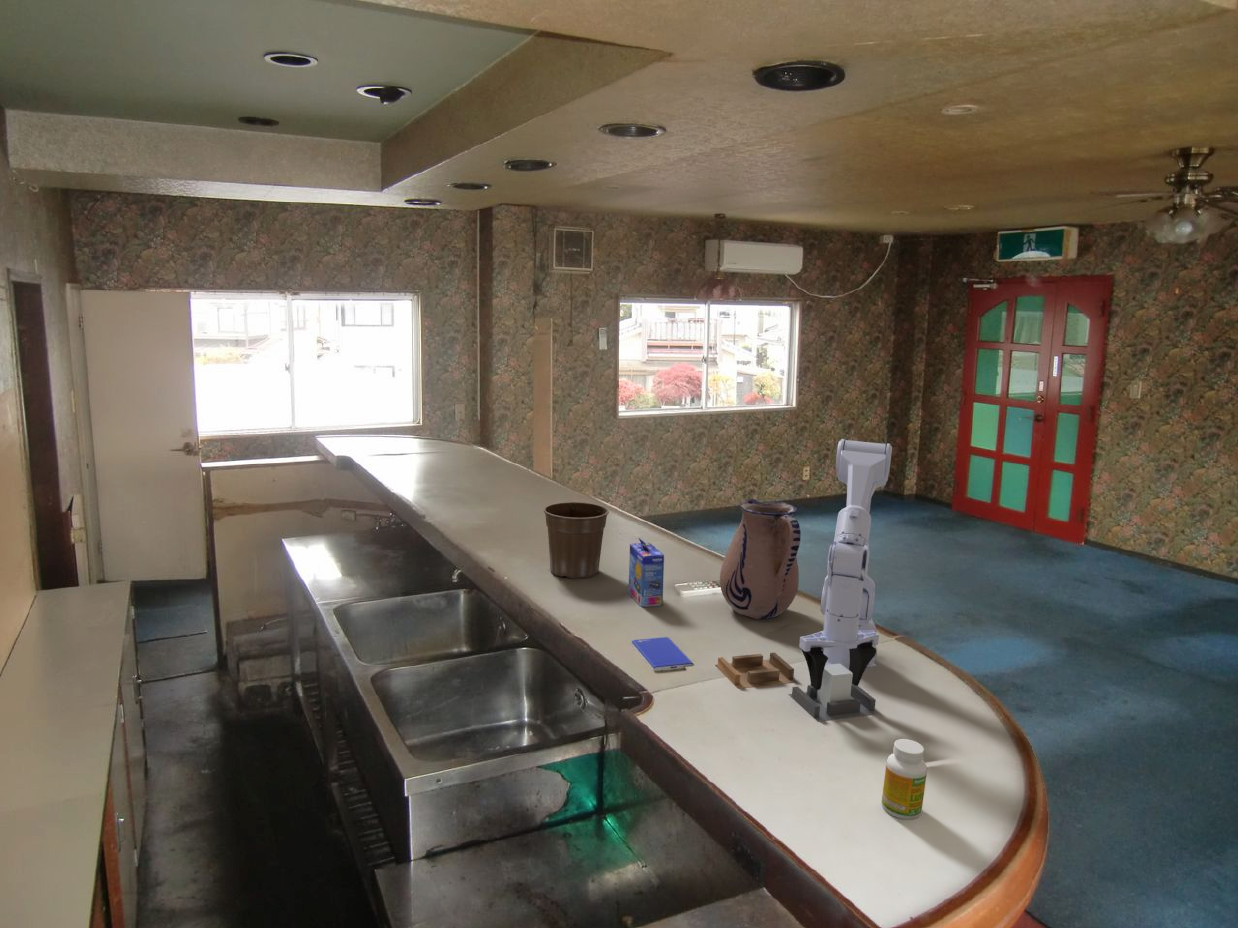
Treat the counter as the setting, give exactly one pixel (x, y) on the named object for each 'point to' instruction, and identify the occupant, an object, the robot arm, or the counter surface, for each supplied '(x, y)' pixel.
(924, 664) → the counter surface
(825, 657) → the robot arm
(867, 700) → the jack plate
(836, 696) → the plug block
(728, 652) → the counter surface
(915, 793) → the supplement bottle
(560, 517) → the plant pot
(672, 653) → the hard drive
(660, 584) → the ink cartridge box
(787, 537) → the ceramic pitcher
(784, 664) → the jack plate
